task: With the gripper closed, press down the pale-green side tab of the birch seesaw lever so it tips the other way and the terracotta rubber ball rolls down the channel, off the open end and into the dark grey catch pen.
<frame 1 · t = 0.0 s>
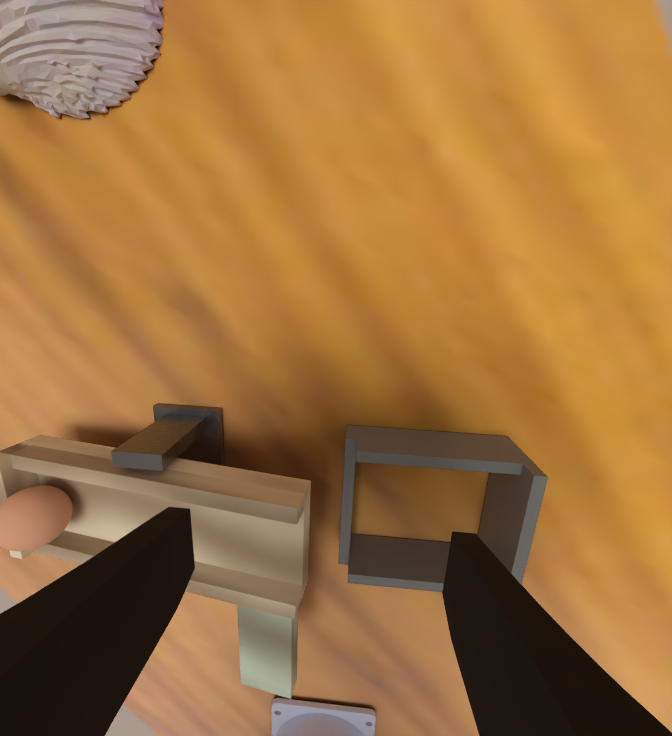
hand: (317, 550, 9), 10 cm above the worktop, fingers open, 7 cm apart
catch pen: (418, 491, 19), on the worktop
pivot stand: (194, 473, 20), on the worktop
seashell: (63, 8, 15), on the worktop
ball: (33, 517, 16), point 5 cm above the worktop, touching lever
lever: (157, 577, 17), point 4 cm above the worktop, hinge at -8.0°, touching ball
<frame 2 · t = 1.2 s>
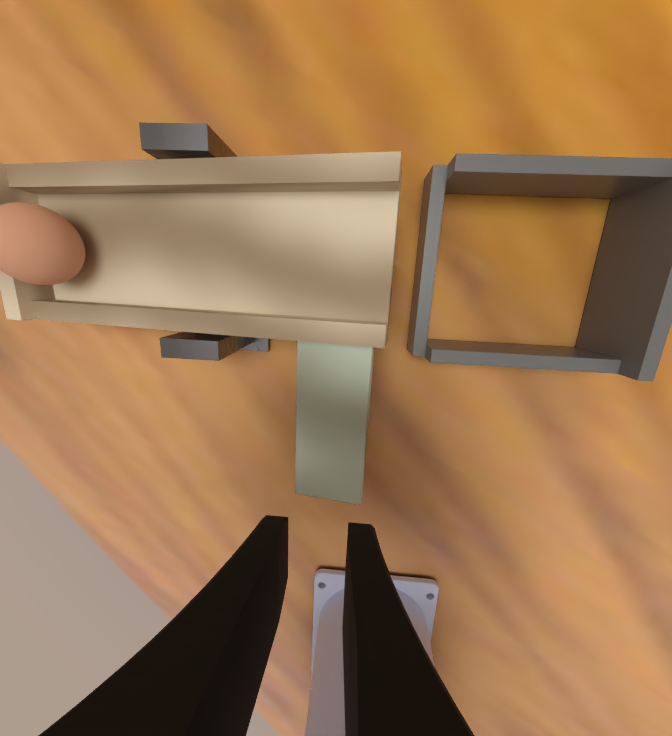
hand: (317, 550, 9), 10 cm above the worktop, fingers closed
catch pen: (508, 273, 16), on the worktop
pivot stand: (231, 261, 17), on the worktop
ball: (36, 245, 12), point 5 cm above the worktop, touching lever
lever: (193, 343, 13), point 4 cm above the worktop, hinge at -8.0°, touching ball
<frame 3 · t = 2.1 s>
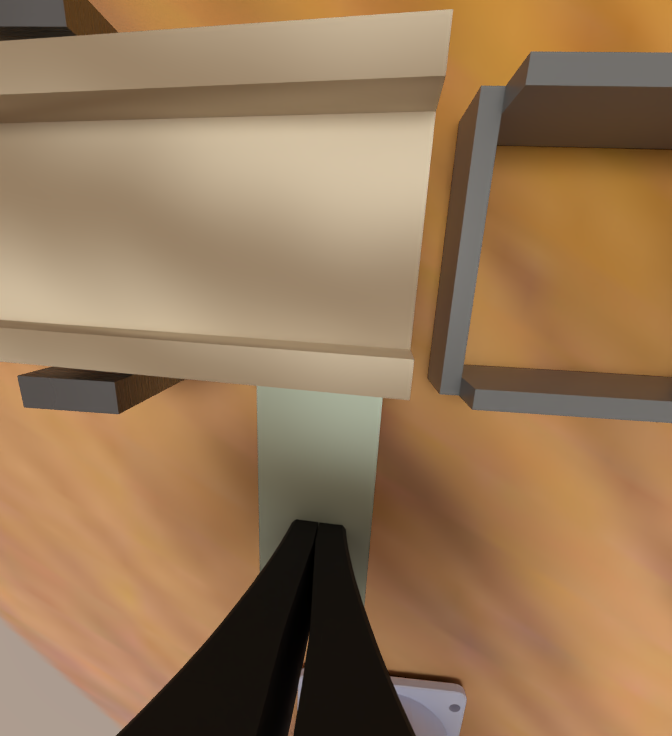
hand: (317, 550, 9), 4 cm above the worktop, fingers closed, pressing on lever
catch pen: (582, 268, 10), on the worktop
pivot stand: (170, 250, 11), on the worktop
lever: (84, 382, 8), point 4 cm above the worktop, hinge at -4.9°, touching gripper
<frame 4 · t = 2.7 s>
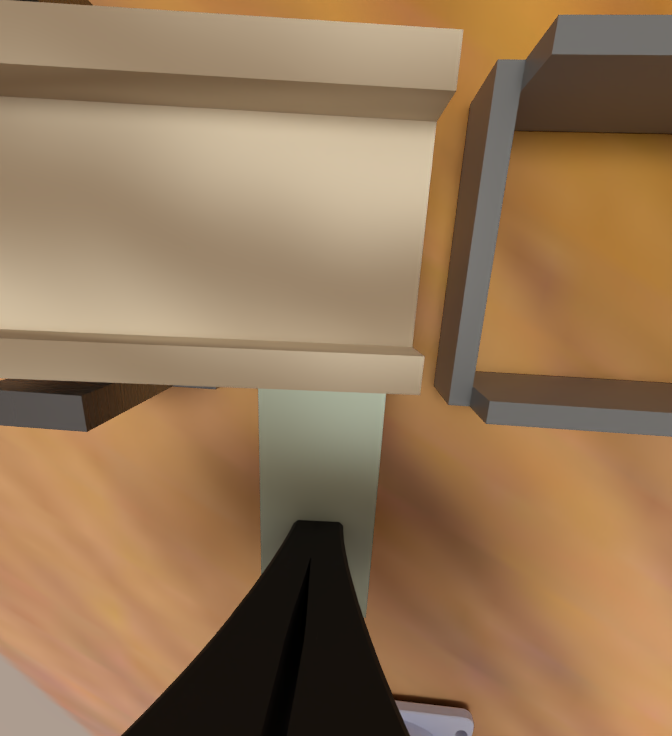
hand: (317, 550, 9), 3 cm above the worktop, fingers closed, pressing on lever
catch pen: (604, 266, 10), on the worktop
pivot stand: (154, 247, 10), on the worktop
lever: (55, 394, 7), point 4 cm above the worktop, hinge at 4.5°, touching ball, gripper
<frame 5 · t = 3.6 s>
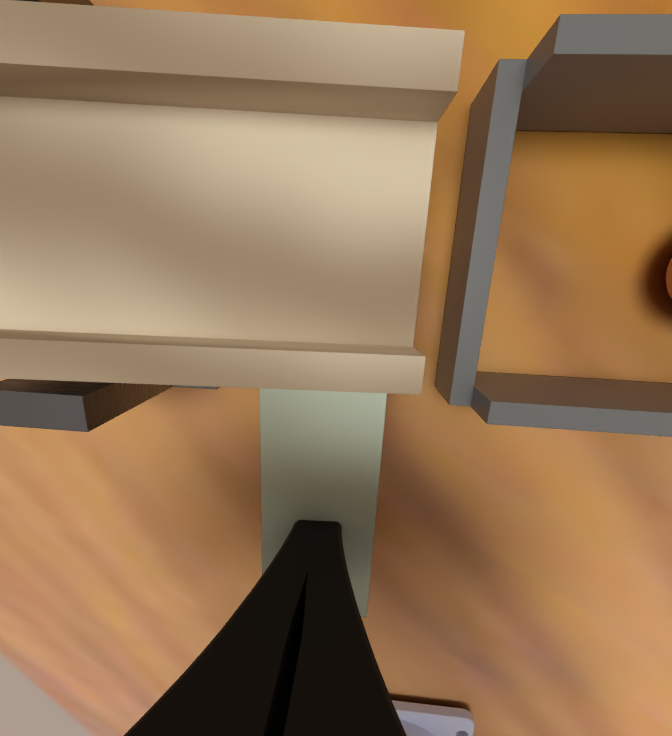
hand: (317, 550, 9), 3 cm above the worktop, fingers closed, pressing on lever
catch pen: (606, 266, 10), on the worktop
pivot stand: (155, 247, 10), on the worktop
lever: (56, 395, 7), point 4 cm above the worktop, hinge at 4.7°, touching gripper
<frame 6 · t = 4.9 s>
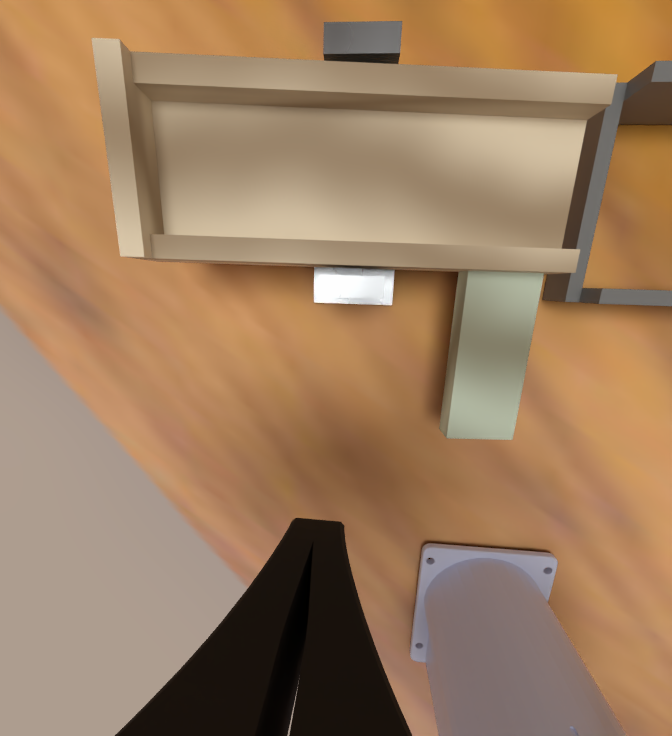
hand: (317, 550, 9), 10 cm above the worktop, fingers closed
catch pen: (663, 212, 15), on the worktop
pivot stand: (357, 207, 15), on the worktop
lever: (353, 282, 12), point 4 cm above the worktop, hinge at 4.7°
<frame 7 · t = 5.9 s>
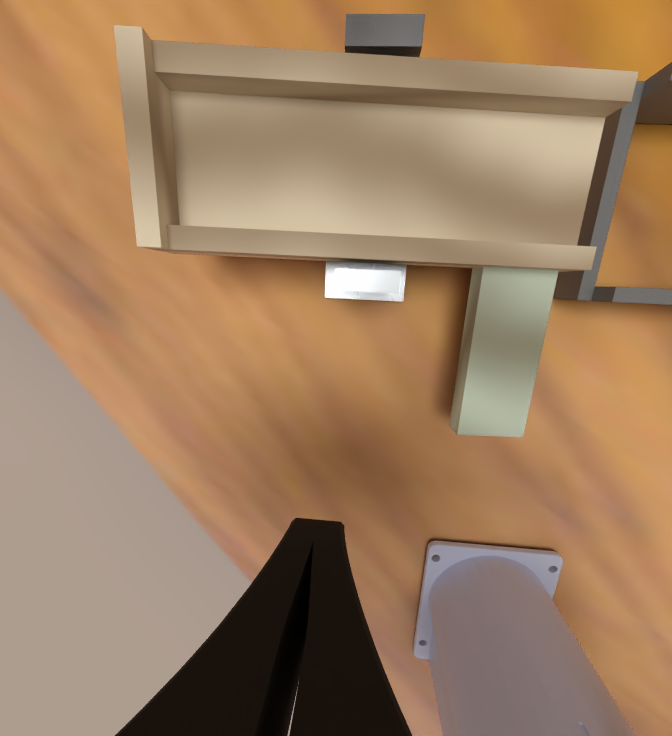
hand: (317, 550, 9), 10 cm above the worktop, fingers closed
pivot stand: (370, 202, 15), on the worktop
lever: (368, 277, 12), point 4 cm above the worktop, hinge at 4.7°
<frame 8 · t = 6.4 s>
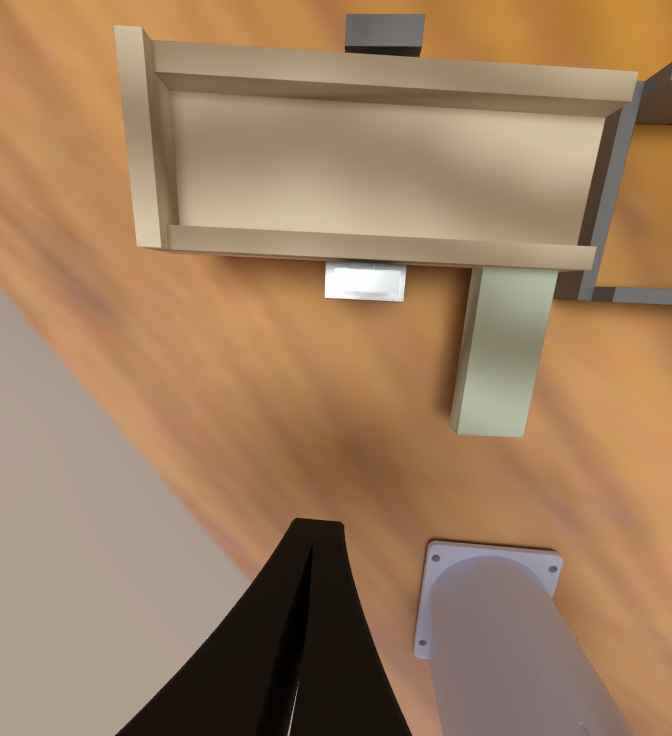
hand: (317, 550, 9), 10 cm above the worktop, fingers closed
pivot stand: (370, 202, 15), on the worktop
lever: (368, 277, 12), point 4 cm above the worktop, hinge at 4.7°
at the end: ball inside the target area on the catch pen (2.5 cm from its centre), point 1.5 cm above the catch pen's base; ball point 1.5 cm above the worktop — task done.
